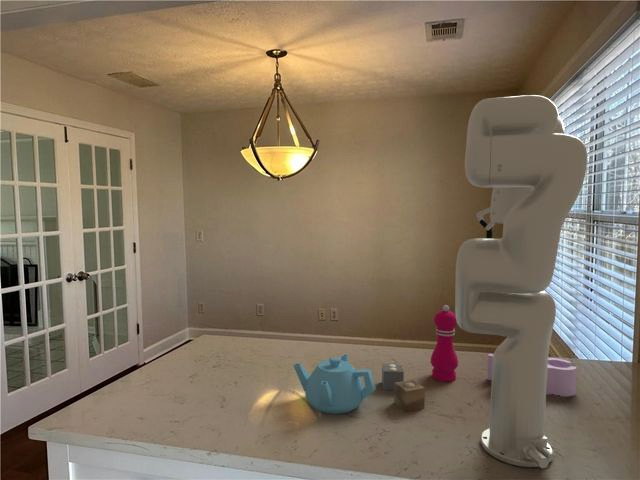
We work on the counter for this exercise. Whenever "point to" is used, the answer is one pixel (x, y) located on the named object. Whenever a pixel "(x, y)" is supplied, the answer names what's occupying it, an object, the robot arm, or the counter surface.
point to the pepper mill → (444, 347)
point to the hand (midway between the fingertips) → (510, 246)
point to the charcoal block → (391, 375)
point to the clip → (553, 376)
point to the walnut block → (409, 395)
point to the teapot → (335, 385)
